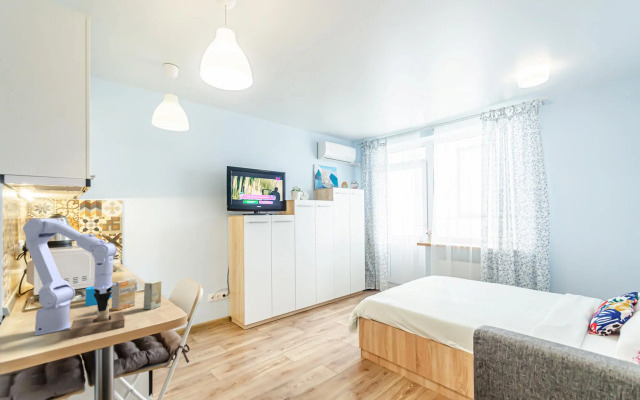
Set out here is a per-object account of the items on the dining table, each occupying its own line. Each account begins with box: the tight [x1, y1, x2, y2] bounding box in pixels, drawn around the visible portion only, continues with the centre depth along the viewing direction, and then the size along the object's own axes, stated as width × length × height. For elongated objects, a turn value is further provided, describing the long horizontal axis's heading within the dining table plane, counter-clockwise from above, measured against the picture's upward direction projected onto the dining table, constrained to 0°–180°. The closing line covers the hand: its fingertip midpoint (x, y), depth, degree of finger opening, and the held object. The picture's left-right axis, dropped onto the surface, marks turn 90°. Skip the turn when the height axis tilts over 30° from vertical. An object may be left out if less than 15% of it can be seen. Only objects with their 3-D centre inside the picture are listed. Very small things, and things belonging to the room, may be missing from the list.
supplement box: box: [111, 278, 136, 312], centre depth 134 cm, size 8×5×13 cm, turn 161°
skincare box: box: [143, 280, 162, 310], centre depth 133 cm, size 6×4×12 cm
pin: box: [96, 302, 110, 322], centre depth 110 cm, size 4×4×8 cm
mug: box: [84, 285, 112, 307], centre depth 143 cm, size 12×8×8 cm
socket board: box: [69, 311, 126, 339], centre depth 109 cm, size 16×12×3 cm
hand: (102, 308), depth 110 cm, fingers open, 7 cm apart
